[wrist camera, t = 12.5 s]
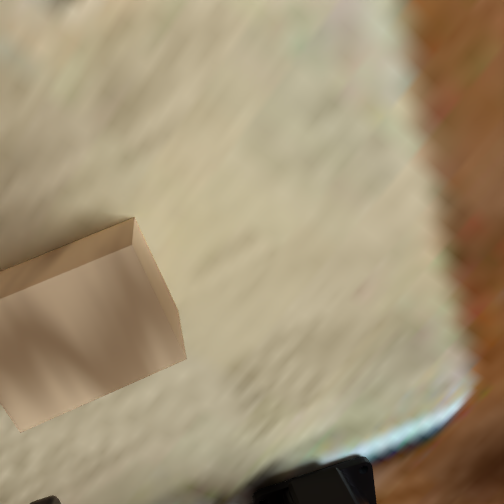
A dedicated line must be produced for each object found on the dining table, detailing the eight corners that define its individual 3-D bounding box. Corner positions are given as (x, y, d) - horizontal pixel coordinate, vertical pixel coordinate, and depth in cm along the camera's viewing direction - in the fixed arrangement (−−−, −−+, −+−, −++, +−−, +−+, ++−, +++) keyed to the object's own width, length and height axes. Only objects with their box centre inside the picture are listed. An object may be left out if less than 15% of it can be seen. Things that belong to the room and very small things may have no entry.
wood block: (186, 359, 16) (20, 432, 15) (177, 309, 20) (46, 365, 20) (132, 245, 14) (-55, 321, 14) (134, 216, 19) (-9, 274, 18)
